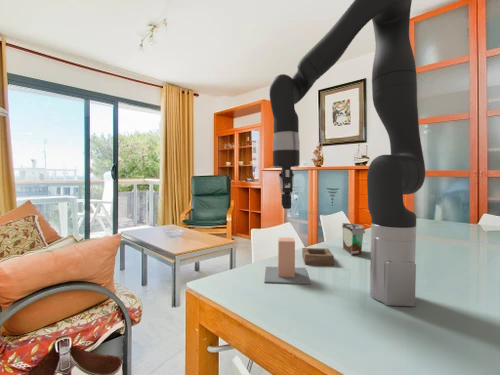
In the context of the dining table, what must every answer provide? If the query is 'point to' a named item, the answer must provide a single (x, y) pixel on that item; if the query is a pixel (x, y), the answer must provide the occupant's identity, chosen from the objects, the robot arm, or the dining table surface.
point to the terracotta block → (286, 257)
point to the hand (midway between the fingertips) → (286, 207)
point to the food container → (352, 238)
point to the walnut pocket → (317, 256)
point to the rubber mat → (299, 278)
